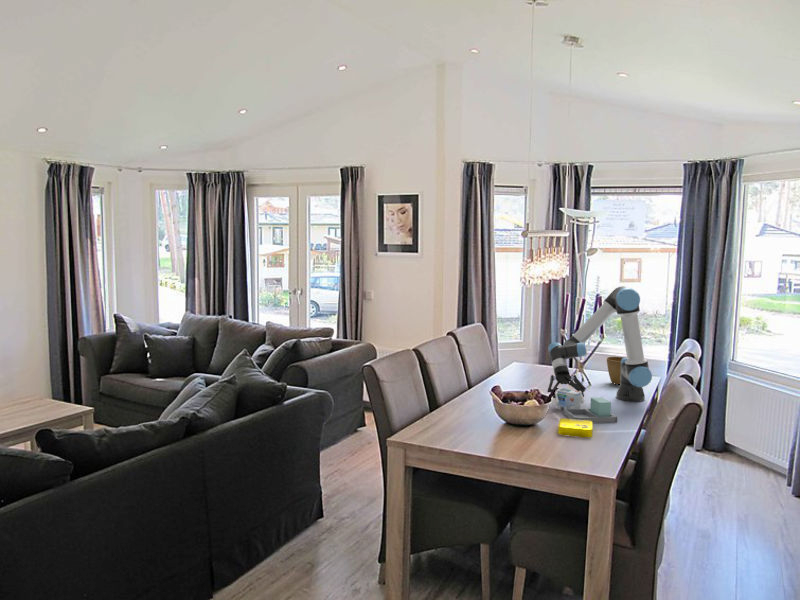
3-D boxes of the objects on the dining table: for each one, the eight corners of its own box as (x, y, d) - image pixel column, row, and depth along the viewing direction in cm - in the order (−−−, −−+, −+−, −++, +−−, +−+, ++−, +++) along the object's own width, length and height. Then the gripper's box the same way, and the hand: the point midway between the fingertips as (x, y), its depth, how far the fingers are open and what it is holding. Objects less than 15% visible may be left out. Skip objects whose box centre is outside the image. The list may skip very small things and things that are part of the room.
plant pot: (601, 383, 382) (602, 358, 381) (613, 380, 392) (614, 355, 391) (623, 387, 371) (624, 361, 370) (635, 384, 381) (636, 359, 380)
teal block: (601, 414, 308) (602, 397, 307) (610, 420, 298) (611, 402, 297) (590, 414, 307) (590, 397, 306) (598, 420, 297) (599, 402, 297)
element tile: (592, 429, 287) (592, 419, 286) (592, 439, 272) (592, 428, 272) (559, 426, 291) (559, 416, 291) (557, 435, 277) (558, 425, 277)
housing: (602, 414, 311) (602, 408, 311) (616, 423, 295) (617, 417, 295) (563, 415, 309) (563, 409, 309) (575, 424, 293) (575, 417, 293)
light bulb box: (556, 410, 319) (556, 390, 318) (562, 407, 324) (563, 388, 323) (574, 414, 311) (575, 393, 310) (581, 411, 316) (581, 391, 315)
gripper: (580, 372, 333) (591, 406, 319) (536, 372, 330) (545, 407, 317) (585, 364, 327) (595, 398, 313) (540, 365, 324) (548, 399, 311)
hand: (570, 403), depth 315 cm, fingers open, 13 cm apart
